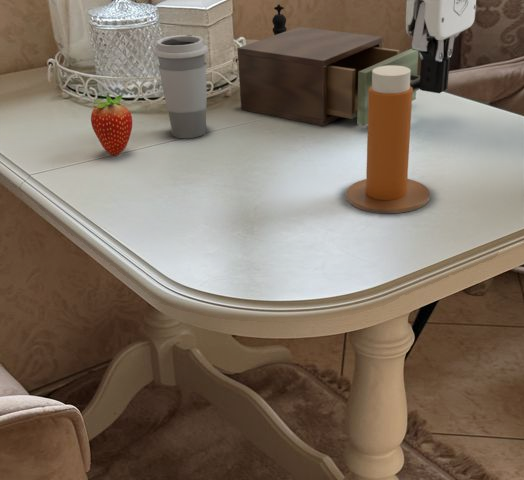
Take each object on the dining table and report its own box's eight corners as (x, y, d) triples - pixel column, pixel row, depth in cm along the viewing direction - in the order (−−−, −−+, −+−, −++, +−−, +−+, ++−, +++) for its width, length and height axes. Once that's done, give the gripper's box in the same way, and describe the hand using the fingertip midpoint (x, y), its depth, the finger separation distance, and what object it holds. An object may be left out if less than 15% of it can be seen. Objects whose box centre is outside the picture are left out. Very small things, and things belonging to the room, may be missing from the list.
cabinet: (380, 98, 116) (382, 36, 112) (323, 126, 107) (323, 60, 102) (300, 84, 124) (299, 26, 119) (241, 109, 115) (237, 47, 110)
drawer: (444, 103, 110) (448, 53, 106) (394, 131, 101) (397, 77, 97) (336, 86, 119) (337, 38, 116) (282, 109, 111) (281, 59, 107)
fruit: (88, 155, 102) (77, 93, 97) (120, 144, 105) (111, 83, 100) (114, 164, 99) (104, 100, 94) (146, 152, 102) (138, 89, 97)
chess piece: (268, 64, 135) (266, 2, 129) (294, 64, 134) (293, 1, 129) (266, 72, 131) (264, 7, 126) (293, 71, 131) (291, 6, 125)
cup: (223, 127, 109) (216, 35, 102) (201, 143, 104) (192, 48, 97) (178, 122, 111) (168, 33, 105) (154, 138, 106) (142, 45, 100)
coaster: (426, 180, 90) (426, 176, 90) (432, 213, 82) (432, 209, 82) (346, 181, 91) (346, 176, 91) (345, 213, 83) (346, 209, 83)
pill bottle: (405, 184, 88) (412, 64, 81) (407, 200, 84) (414, 75, 77) (365, 184, 88) (368, 65, 81) (366, 200, 85) (369, 76, 78)
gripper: (443, -59, 86) (430, 110, 96) (503, -76, 95) (485, 80, 105) (383, -62, 90) (377, 101, 100) (446, -78, 99) (435, 72, 109)
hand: (433, 89), depth 103 cm, fingers closed
